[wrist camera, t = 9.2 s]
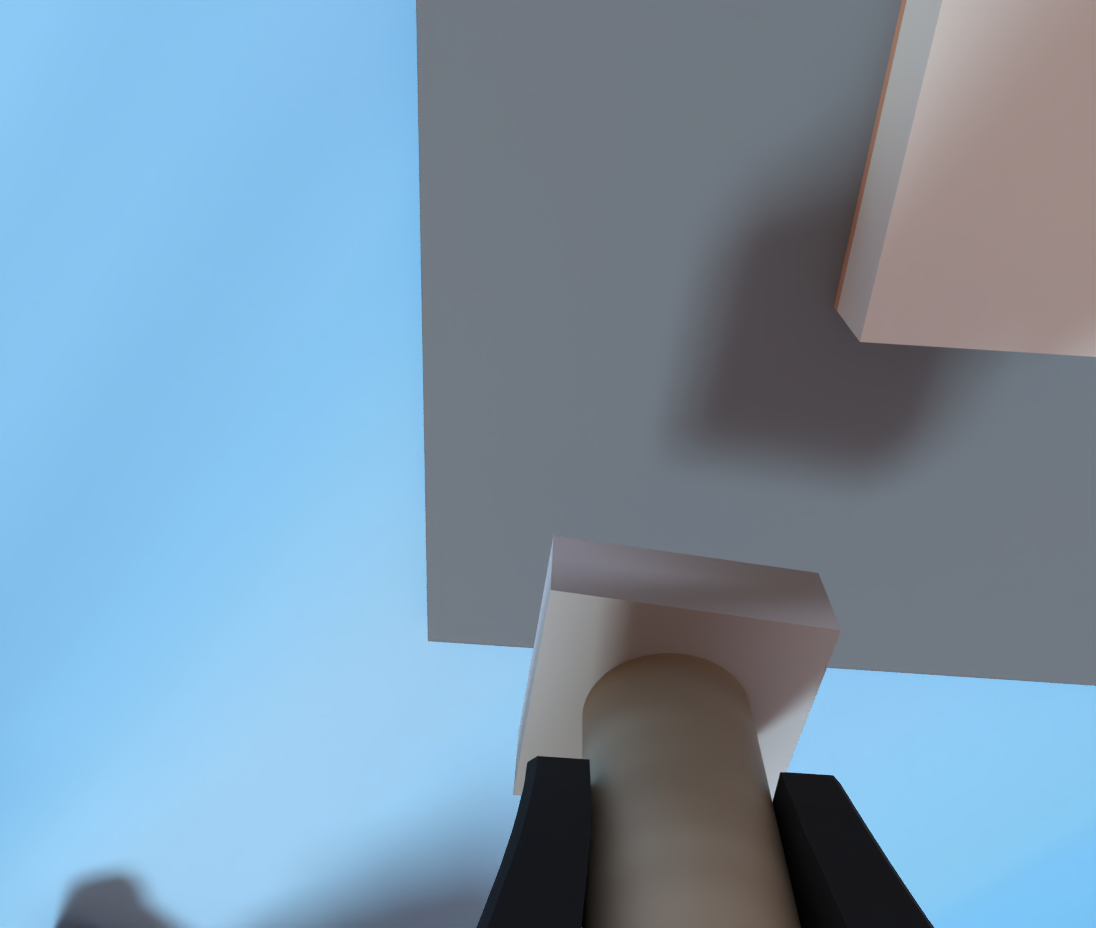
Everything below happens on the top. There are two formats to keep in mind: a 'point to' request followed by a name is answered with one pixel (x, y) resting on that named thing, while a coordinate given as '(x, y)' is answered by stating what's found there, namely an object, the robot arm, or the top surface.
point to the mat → (717, 341)
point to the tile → (980, 182)
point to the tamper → (677, 724)
